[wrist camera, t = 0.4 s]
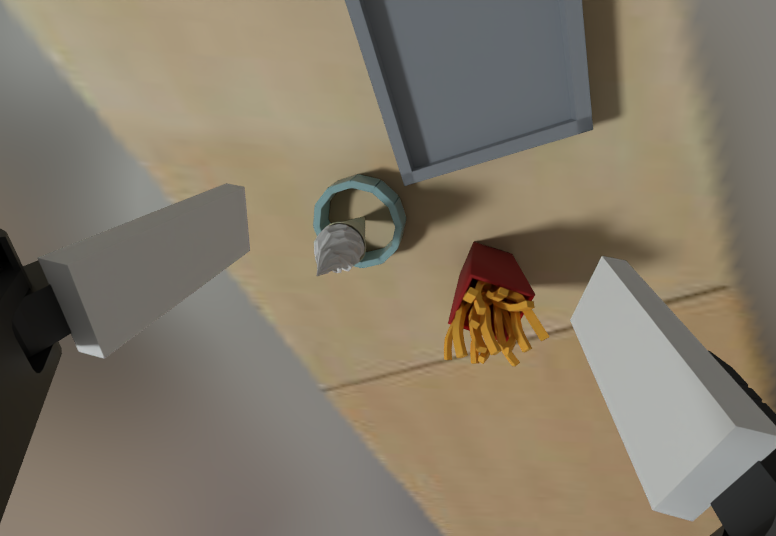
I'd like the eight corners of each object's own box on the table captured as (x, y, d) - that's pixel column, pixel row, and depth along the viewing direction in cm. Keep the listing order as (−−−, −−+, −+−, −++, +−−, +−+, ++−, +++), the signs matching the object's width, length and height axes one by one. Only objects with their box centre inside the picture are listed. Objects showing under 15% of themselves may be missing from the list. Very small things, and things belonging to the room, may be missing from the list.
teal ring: (309, 189, 42) (299, 196, 39) (388, 164, 38) (382, 169, 36) (342, 263, 46) (334, 274, 43) (415, 246, 43) (412, 257, 40)
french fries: (468, 232, 40) (468, 301, 27) (536, 253, 40) (568, 334, 27) (444, 290, 45) (435, 374, 32) (505, 310, 44) (519, 403, 31)
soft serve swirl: (383, 200, 41) (343, 254, 28) (382, 238, 43) (346, 304, 30) (343, 197, 41) (286, 248, 29) (345, 235, 44) (293, 297, 31)
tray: (316, -117, 29) (300, -137, 26) (544, -271, 23) (554, -317, 20) (408, 179, 39) (404, 185, 36) (583, 126, 33) (593, 129, 30)
